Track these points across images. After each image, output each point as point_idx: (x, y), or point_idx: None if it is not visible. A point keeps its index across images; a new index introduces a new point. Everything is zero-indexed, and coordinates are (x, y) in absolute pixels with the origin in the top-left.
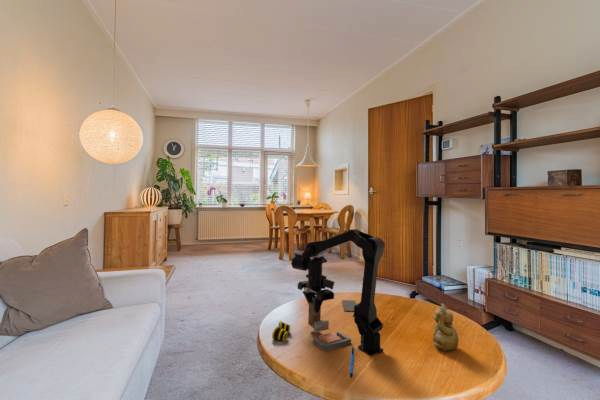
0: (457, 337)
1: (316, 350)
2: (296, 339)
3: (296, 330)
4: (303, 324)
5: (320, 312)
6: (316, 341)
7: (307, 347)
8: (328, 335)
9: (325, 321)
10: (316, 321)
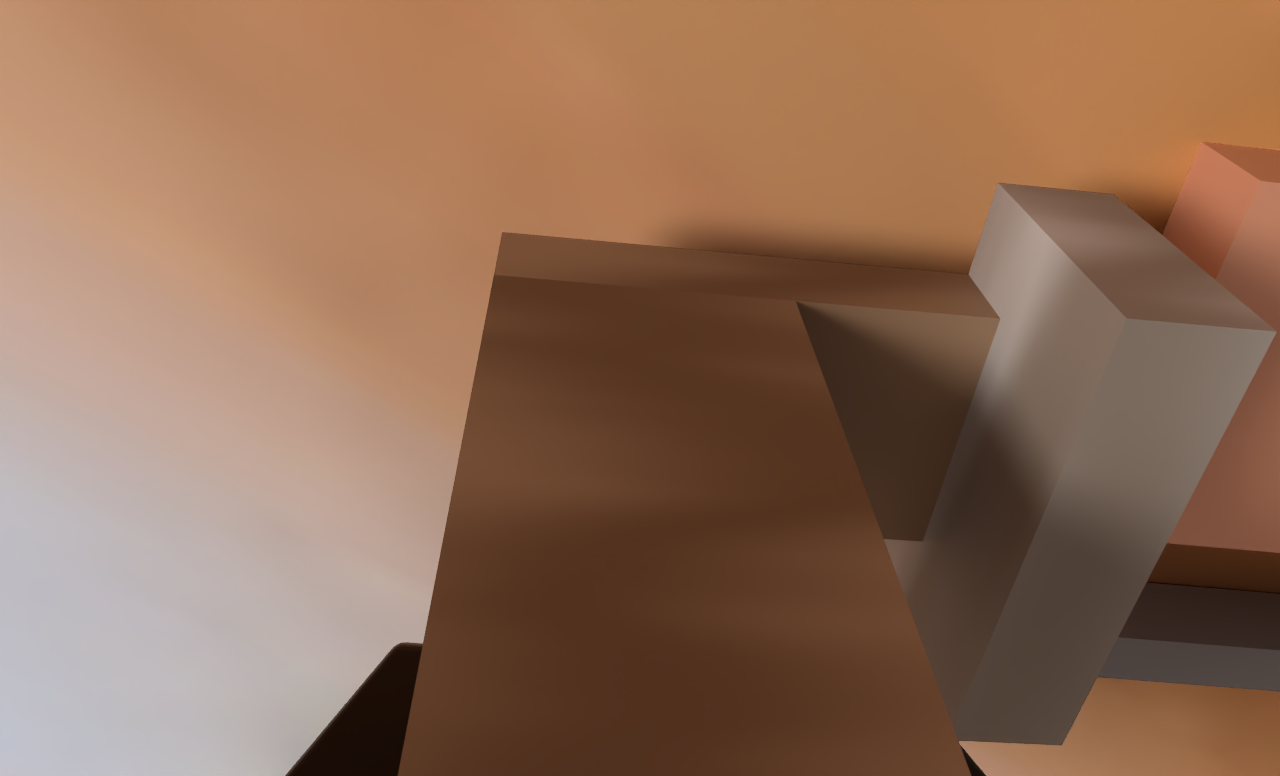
0: None
1: (1265, 708)
2: None
3: (405, 571)
4: (154, 282)
5: (887, 552)
6: (1185, 675)
7: (1080, 748)
8: (1272, 375)
9: (1201, 459)
10: (985, 680)
